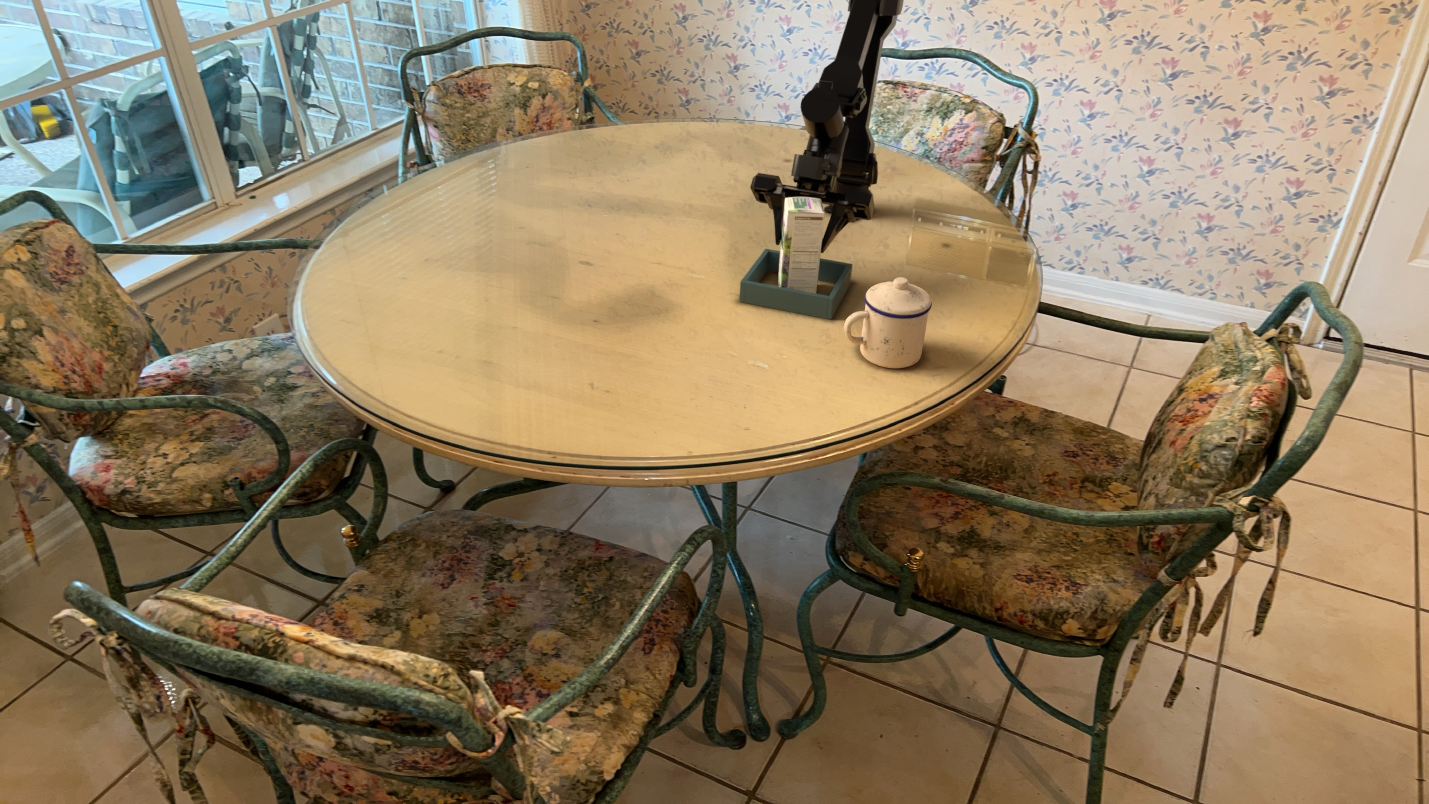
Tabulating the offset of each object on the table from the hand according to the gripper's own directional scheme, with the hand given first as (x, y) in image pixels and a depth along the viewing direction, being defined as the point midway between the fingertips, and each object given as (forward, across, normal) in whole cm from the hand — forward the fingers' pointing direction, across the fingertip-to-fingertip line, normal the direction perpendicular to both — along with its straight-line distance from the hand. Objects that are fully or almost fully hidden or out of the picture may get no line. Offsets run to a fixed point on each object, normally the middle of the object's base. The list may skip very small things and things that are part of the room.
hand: (798, 248), depth 138 cm
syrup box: (+5, 0, +6) cm, 8 cm away
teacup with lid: (+15, +16, -4) cm, 22 cm away
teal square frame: (+5, 0, +6) cm, 8 cm away
